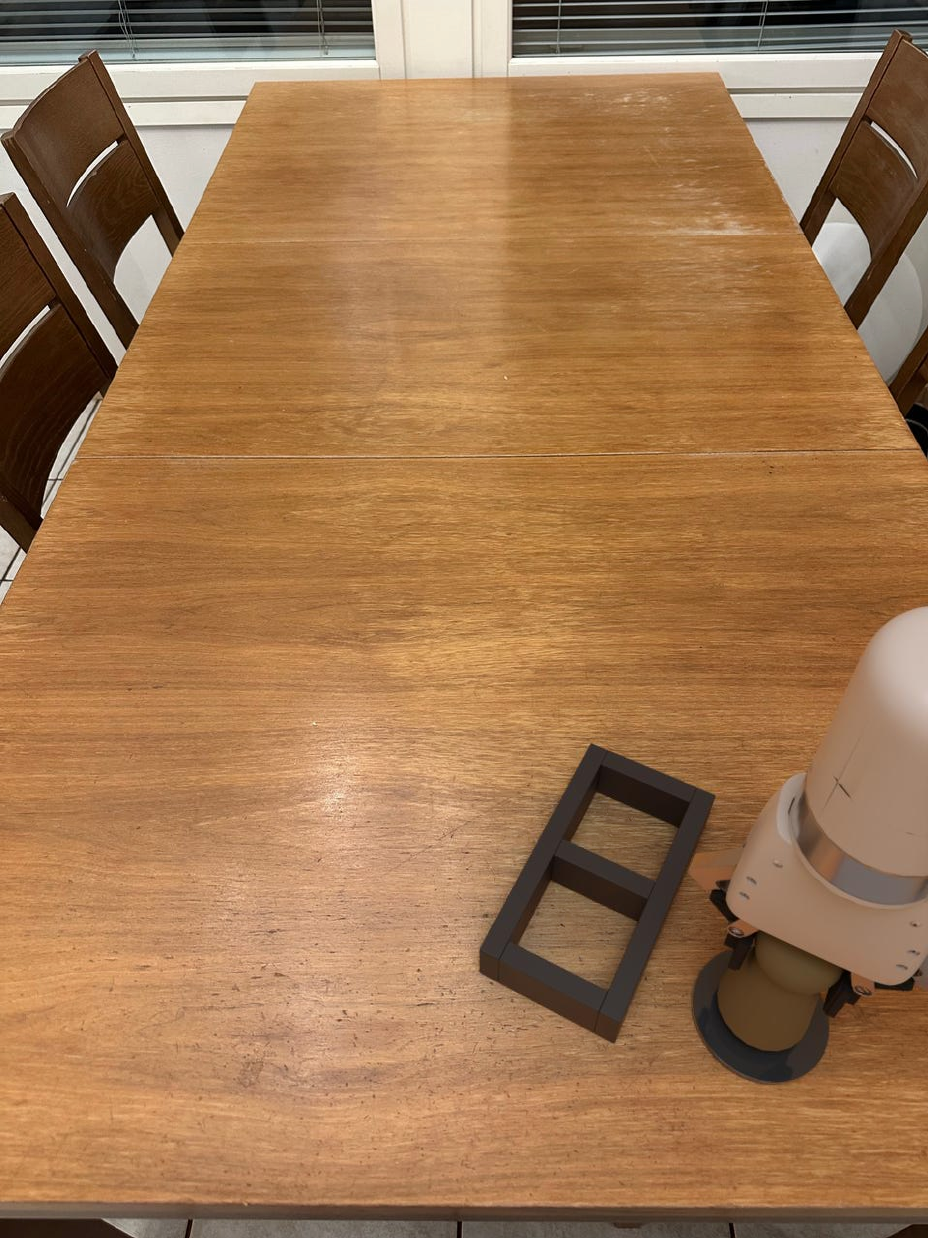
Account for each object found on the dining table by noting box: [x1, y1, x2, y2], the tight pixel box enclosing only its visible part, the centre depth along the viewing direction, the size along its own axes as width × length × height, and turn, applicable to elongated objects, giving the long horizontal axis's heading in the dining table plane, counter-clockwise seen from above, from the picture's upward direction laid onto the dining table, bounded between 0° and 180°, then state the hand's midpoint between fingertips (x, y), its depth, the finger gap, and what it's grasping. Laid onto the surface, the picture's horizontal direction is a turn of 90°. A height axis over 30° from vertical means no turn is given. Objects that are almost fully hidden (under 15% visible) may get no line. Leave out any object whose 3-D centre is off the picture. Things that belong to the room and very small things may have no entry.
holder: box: [478, 742, 716, 1044], centre depth 69 cm, size 10×19×4 cm, turn 152°
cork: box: [717, 930, 844, 1051], centre depth 59 cm, size 6×6×11 cm
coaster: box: [691, 948, 830, 1086], centre depth 64 cm, size 9×9×1 cm
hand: (786, 970), depth 58 cm, fingers closed on cork, 5 cm apart
